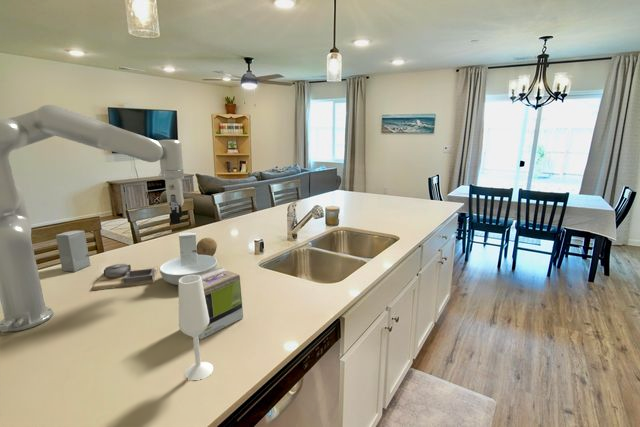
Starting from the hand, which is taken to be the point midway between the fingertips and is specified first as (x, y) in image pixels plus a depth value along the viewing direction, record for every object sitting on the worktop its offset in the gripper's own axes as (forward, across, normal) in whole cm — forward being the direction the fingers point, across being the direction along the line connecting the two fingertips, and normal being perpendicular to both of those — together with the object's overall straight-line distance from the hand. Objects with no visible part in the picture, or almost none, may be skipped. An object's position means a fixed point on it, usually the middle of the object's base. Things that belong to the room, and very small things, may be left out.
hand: (176, 220), depth 125 cm
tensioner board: (+24, +8, +20) cm, 33 cm away
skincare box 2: (+18, 0, -3) cm, 18 cm away
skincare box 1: (+25, +28, +44) cm, 58 cm away
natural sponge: (+24, +22, -9) cm, 34 cm away
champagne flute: (+25, -56, -7) cm, 62 cm away
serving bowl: (+25, 0, -3) cm, 25 cm away
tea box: (+25, -35, -11) cm, 44 cm away
